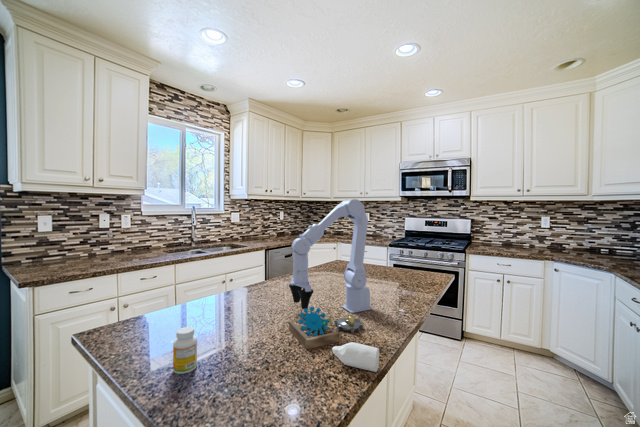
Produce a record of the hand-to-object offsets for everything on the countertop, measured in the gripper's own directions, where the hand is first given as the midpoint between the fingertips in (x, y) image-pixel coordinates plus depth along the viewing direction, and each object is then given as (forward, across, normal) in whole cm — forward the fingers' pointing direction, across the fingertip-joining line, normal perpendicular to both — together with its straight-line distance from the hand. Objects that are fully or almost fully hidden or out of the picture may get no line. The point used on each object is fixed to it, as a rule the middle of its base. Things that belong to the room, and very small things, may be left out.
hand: (300, 305), depth 106 cm
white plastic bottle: (+4, +38, -1) cm, 38 cm away
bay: (+3, +18, -3) cm, 19 cm away
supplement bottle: (+3, +20, -40) cm, 45 cm away
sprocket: (+3, +18, +10) cm, 21 cm away
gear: (+4, +16, -2) cm, 17 cm away
